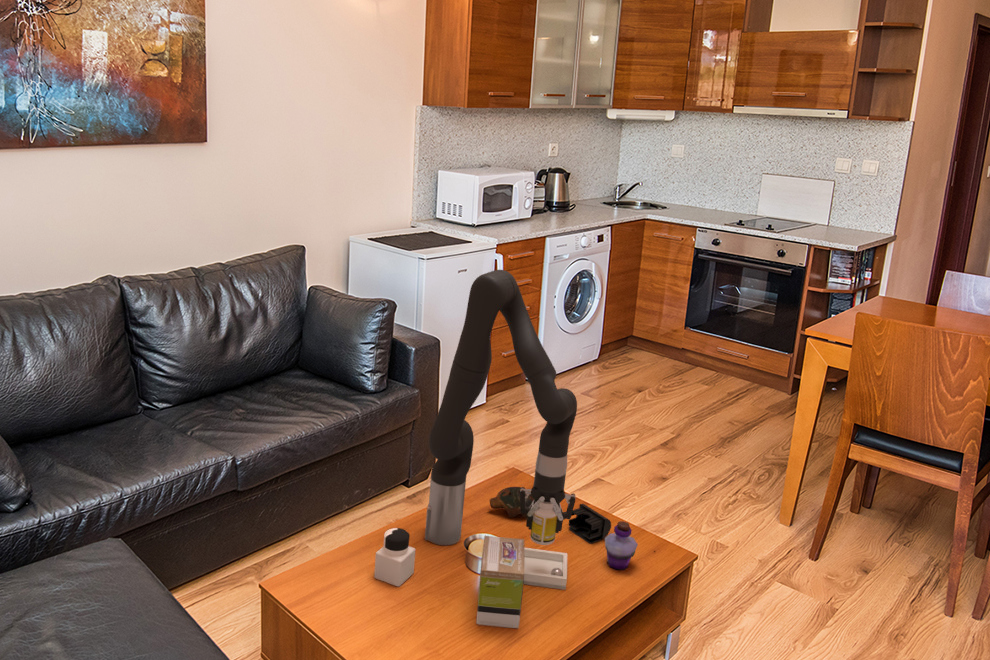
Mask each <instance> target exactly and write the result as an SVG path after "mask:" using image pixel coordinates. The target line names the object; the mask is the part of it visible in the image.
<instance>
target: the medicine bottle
mask: <svg viewBox="0 0 990 660" xmlns="http://www.w3.org/2000/svg"><path fill="white" fill-rule="evenodd" d="M383 535H384V537H383V546H382V547H381V548H380V549H378V550H377V551H376V552H375V556H374V557H375V559H374V579H376V580H378V581H382V582H385V583H386V584H390V585H392V586H395V587H400V586H401V585H403V584H404V583H405V582H406V581H407V580H408V579H409V578H410V577H411V576H412V575H413V574H414V571H415V562H416V561H415V559H416V548H415V547H412V546H410V545H409V544H410V533H409V532H408V531H407V530H406V529H405V528H404V529H403V528H401V527H400V528H399V527H392V528H390V529H387V530H386V531H385V532H384V534H383Z"/></svg>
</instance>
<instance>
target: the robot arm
mask: <svg viewBox="0 0 990 660" xmlns="http://www.w3.org/2000/svg"><path fill="white" fill-rule="evenodd" d="M499 312H500V314H502V317H503V318H504V320H505V321H506V324H507V326H508V329H509V332H510V336H511V340H512V346H513V351H514V355H515V358H516V360H517V363H518V366H519V367H520V369H521V371H522V372H523V374H524V376H525V378H526V380H527V382H528V383H529V386H530V388H531V393H532V397H533V399H534V403H535V406H536V409H537V411H538V413H539V414H540V417H541V418H542V419H543V420H544V421H545V422H546V424H545V425H544V427H543V428H542V430H541V432H540V437H539V443H538V445H539V446H538V452H537V454H536V455H537V457H536V460H535V467H534V468H535V469H534V478H533V479H534V480H533V486H532V487H531V488H526V487H524V486H522V487H521V486H520V487H521V490H520V512H521V513H525V514H526V515H527V518H526V523H525V526H526V528H528V530H530V531H531V526H532V518H533V513H534V511H536V510H537V509H538V507H539V506H540V502H541V503H542V502H543V501H544V502H551V504H553V508H554V510H555V513H556V514H557V516H558V517H557V525H556V534H559V532H562V530H563V521H565V520H570V519H572V516H571V515H572V512H573V510H574V507H575V503H576V493H571V494H570V493H566V492H565V484H566V476H567V475H566V474H567V469H568V452H569V444H570V443H569V442H570V435H571V432H572V428H573V427H574V422H575V419H576V416H577V411H578V400H577V398H576V395H575V393H573V391H572V390H570V389H568V388H564V387H561V388H557V386H556V383H555V381H556V378H557V372H556V368H555V366H554V364H553V363H552V361H551V359H550V357H549V356H548V353H547V352H546V350H545V348H544V346H543V345H542V343H541V340H540V339H539V336H538V333H537V332H536V330H535V327H534V325H533V322H532V319H531V318H530V314H529V312H528V309H527V306H526V304H525V301H524V298H523V295H522V292H521V290H520V287H519V285H518V283H517V280H516V278H515V277H514V276H513V275H512V274H511V273H510V271H507V270H505V269H495V270H492V271H488V272H486V273H483V274H481V275H479V276H477V277H476V279H474V281H472V284H471V287H470V290H469V295H468V301H467V306H466V313H465V319H464V323H463V328H462V330H461V334H460V336H459V340H458V345H457V347H456V351H455V352H454V353H455V354H454V357H453V360H452V364H451V368H450V371H449V376H448V379H447V382H446V386H445V390H444V394H443V396H442V401H441V403H440V407H439V410H438V411H437V412H438V413H437V415H436V417H435V419H434V422H433V425H432V427H431V429H430V431H429V435H428V448H429V451H430V453H431V454H432V456H433V458H435V459H436V461H435V462H434V463H433V465H432V467H431V472H430V474H431V475H430V484H429V496H428V498H429V499H428V504H427V508H426V517H425V531H424V541H429V542H431V543H433V544H435V545H439V546H451V545H454V544H456V543H458V542H460V540H461V537H462V536H461V535H462V528H463V527H462V525H463V517H464V516H463V515H464V506H465V505H464V504H465V495H466V493H465V492H466V483H467V475H468V473H469V471H470V468H471V464H472V457H473V451H474V450H473V449H474V443H475V441H474V440H475V438H474V430H473V429H472V426H471V425H470V424H469V422H468V421H467V420H466V418H467V417H466V416H467V415H468V413H469V411H470V410H471V408H472V406H473V405H474V403H475V402H476V400H477V399H478V397H479V395H480V394H481V393H482V390H483V389H484V387H485V384H486V382H487V379H488V376H489V372H490V370H491V365H492V358H493V355H492V354H493V353H492V342H491V335H492V330H493V327H494V325H495V321H496V318H497V316H498V314H499ZM529 494H531V495H532V497H533V498H534V501H533V502H532V504H531V505H530V507H529V508H528V507H526V498H528V496H529ZM563 500H566V504H567V507H566V511H563V509H562V506H561V503H562V502H563Z"/></svg>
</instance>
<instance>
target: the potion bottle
mask: <svg viewBox="0 0 990 660" xmlns="http://www.w3.org/2000/svg"><path fill="white" fill-rule="evenodd" d="M631 535H632V528H631V527H630V523H628V522H627V521H622V520H621V521H618V522H617V525H615V526H614V529H613V532H611V533H610V532H609V533H608V535H607V536H606V537H605V538H604V544H605V545H604V547H605V549H606V558H607V559H606V560H607V561H606V564H607V566H608V567H609V568H610V569H613V570H615V571H625V570H627V568H629V564H630V562H631V558H632V557H634V556H635V553H636V551H637V550H636V549H637V548H638V545H639V544H638V542H637V541H636V539H635V538H634V537H633V536H631Z"/></svg>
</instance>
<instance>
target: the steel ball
mask: <svg viewBox="0 0 990 660" xmlns="http://www.w3.org/2000/svg"><path fill="white" fill-rule="evenodd" d="M551 575H556V576H563V572H562V570H561V569H559V568H554V569H552V571H551Z"/></svg>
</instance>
